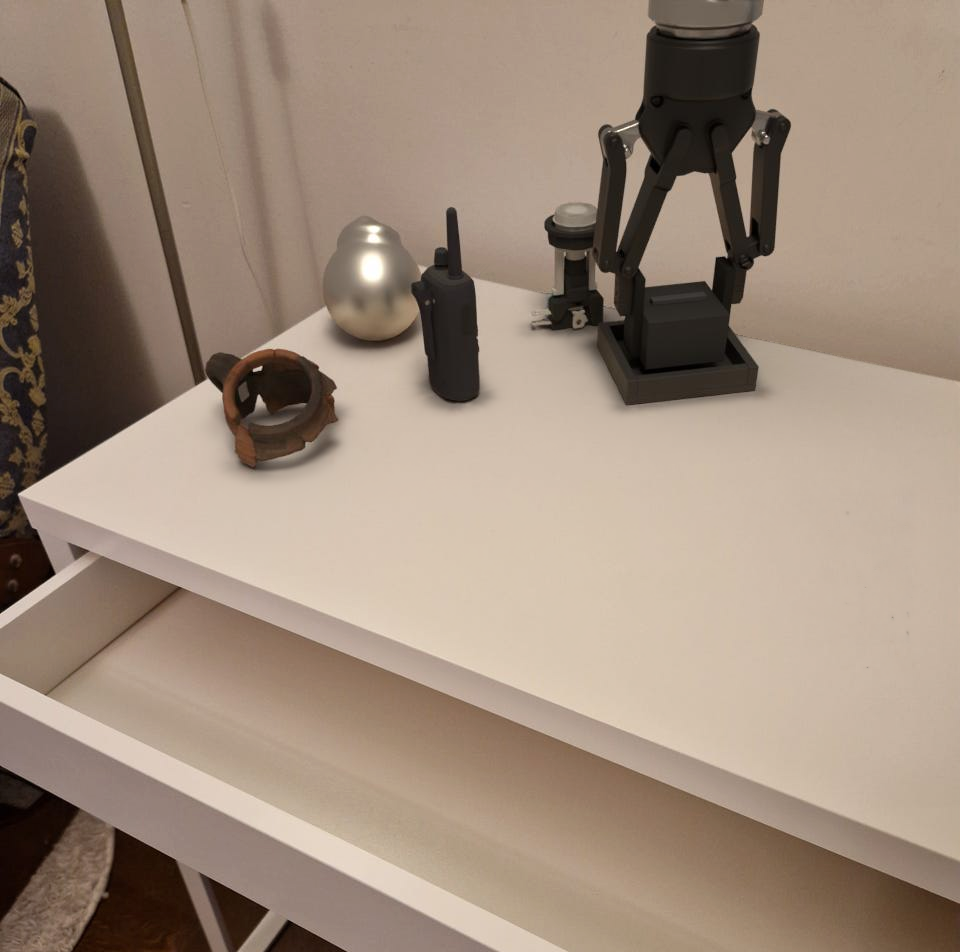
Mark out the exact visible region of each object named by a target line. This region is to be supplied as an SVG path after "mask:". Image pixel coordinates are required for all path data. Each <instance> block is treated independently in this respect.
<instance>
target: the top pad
mask: <svg viewBox="0 0 960 952" xmlns="http://www.w3.org/2000/svg"><path fill="white" fill-rule="evenodd" d="M729 317H730V318H731V313H730V314H729V313H728V311H727V310H726V309H725V307H724V306H723V305H722V303H721V302H720V301H719V299H718V298H717V297H716V295H715V294H714V293H713V291H712V287H710V286H709V283H707V281H705V280H701V281H692V282H682V283H681V282H680V283H673V284H662V285H652V286H645V297H644V311H643V318H642V333H641V348H640V357H639V359H640V360H641V362H642V364H643V366H644V368H645V369H646V370H648V369H657V368H666V367H675V366H684V365H694V364H703V363H712V362H721V361H724V356H725V348H726V340H727V333H728V325H729V326H730V320H729Z"/></svg>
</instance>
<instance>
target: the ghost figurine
mask: <svg viewBox="0 0 960 952" xmlns="http://www.w3.org/2000/svg"><path fill="white" fill-rule="evenodd" d="M409 251H410V250H408V249H407V248H405V246H404V245H403V241H402V237H401V235H400V233H399V231H397V230H396V229H394V228H392V226H390V225H388V224H385V223H382V222H379V221H378V220H376V219H374V218H373V217H371V216H368V215H362V216H361V215H360V216H358V217H357V218H355V219H353V221H351V222H349V223H348V224H346V225H345V226H344V227H343V228H342V229H341V231H340V232H339V234H338V237H337V240H336V249H335V251H334V252H333V253H332V254H331V256H330V257H329V259H328V261H327V263H326V265H325V268H324V271H323V276H322V283H321V284H322V296H323V300H324V304H325V307H326V309H327V311H328V313H329V315H330V317H331V318H332V320H333V321H334V322H335V323H336V324H337V326H338V327H339V328H341V329H342V330H343V331H344V332H345V333H347V334H348V335H350V336H352V337H354V338H357V339H360V340H364V341H368V342H379V341H381V342H382V341H385V340H386V341H387V340H389V339H392V338H395V337H396V336H398V335H400V334H401V333H403V332H405V331H406V330H407V329H408V328H409V327H410V326H411V325H412V324H413V322H414V321H415V319H416V318H417V316H418V315H419V313H420V310H419V307H418V304H417V301H416V299H415V297H414V296H413V294H412V291H411V284H412V283H413V282H417V281H421V275H422V273H421V269H420V267H419V265H418V262H417V261H416V259H415V258H414V256H413V255H412V254H411V252H409Z"/></svg>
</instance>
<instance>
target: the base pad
mask: <svg viewBox="0 0 960 952" xmlns="http://www.w3.org/2000/svg"><path fill="white" fill-rule="evenodd" d="M624 322H625V319H621V320H613V321H603V322H600V323H598V325H597V334H596V338H597V339H596V346H597V348H598V350H599V352H600V354H601V356H602V358H603V360H604V362H605V364H606V366H607V368H608V370H609V372H610V374H611V376H612V378H613V380H614V382H615V384H616V386H617V388H618V390H619V393H620V395H621V396H622V399H623V400H624V403H625V404H626V406H629V405H638V404H648V403H656V402H665V401H673V400H682V399H690V398H691V399H692V398H701V397H707V396H708V397H709V396H717V395H724V394H725V395H726V394H734V393H743V392H752V391H756V387H757V380H758V374H759V367H760V366H759V365H758V363H757V362H756V361H755V359H754V358H753V356H752V355H751V354H750V353H749V351H748V350H747V348H746V347H745V346H744V344H743V343H742V342H741V340H740V339H739V337H738V336H737V335H736V334H735V332H734V330H733V329H732V328H731V326H729V327H728V335H727V343H726V348H725V356H724V361H721V362H712V363H703V364H694V365H684V366H675V367H666V368H657V369H648V370H646V369H645V368H644V366H643V364H642V362H641V360H640V359H639V357H636V358H631V356H630V355H629V353H628V351H627V349H626V347H625V345H624V343H623V340H624Z"/></svg>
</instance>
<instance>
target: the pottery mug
mask: <svg viewBox="0 0 960 952" xmlns="http://www.w3.org/2000/svg"><path fill="white" fill-rule="evenodd" d="M260 367H261V369H260V370H256V371H254V370H255V369H257V368H260ZM204 372H205V374H206V377H207V378H208V380H209V381H210V382H211V384H212V385H214V387H215V388H216V389H217V390H218V391H219V392H220V393H221V394H222V396H221V398H222V404H223V412H224V418H225V422H226V424H227V427H228V428H229V431H230V432H231V434H232V435H233V436H234V453H235V454H236V455H237V458H238V460H240V461H241V462H242V463H244V464H246V465H247V466H249V467H250V468H255V466H256V465H257V463H258V462H259V463H260V462H261V463H262V462H266V461H271V460H276V459H279V458H283V457H287V456H290V455H292V454H295V453H298V452H301V451H303V450H305V448H306V444H307V443H313V442H315V440H316V439H317V438H319V435H320V434H321V433H322V432H323V431H324V429H325V428H326V427H327V426H328V425H330V424H335V423H336V422H338V421H339V418H338V417H337V415H336V413H335V411H336V410H335V397H334V396H333V395H332V394H333V393H334V392H335V390H337V389H338V386H337V385H336V383H335V381H334V379H332V378H331V377H329V376H328V375H327V374H325V373H324V372H322V371H320V366H319V365H318V363H317V364H316V363H315V362H314V361H312V360H310V359H308V358H307V357H305V356H303V355H300V354H299V353H297V352H294V351H292V350H288V349H284V348H275V349H273V348H266V349H261V350H257V351H255V352H252V353H250V354H248V355H247V356H245V357H244V358H240V357H238V356H236V355H234V354H232V353H227V352H226V353H225V352H222V351H221V352H220V351H219V352H216V353H213V354H212V355H211V356H210V357H209V359H208V360H207V362H206V363H205V370H204ZM258 397H260V398H261V401H262V403H263V404H264V405H265V407H266V410H267V412H268V413H269V415H274V414H275V413H277V412H278V411H279V410H283V409H284V408H286V407H290V406H295V405H300V404H306V405H305V407H304V408H303V409H302V410H301V412H299V413H298V414H297V415H295V417H293V418H291V419H289V420H287V421H284V422H282V423H278V424H272V425H265V424H258V423H254V422H252V421H249V422H248V423H247V427H246V426H245V425H244V424H243V423H242V421H243V420H245V419H246V418H247V417H248V416H250V415H251V414H253V413H254V412H255V410H256V406H257V401H258Z"/></svg>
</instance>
